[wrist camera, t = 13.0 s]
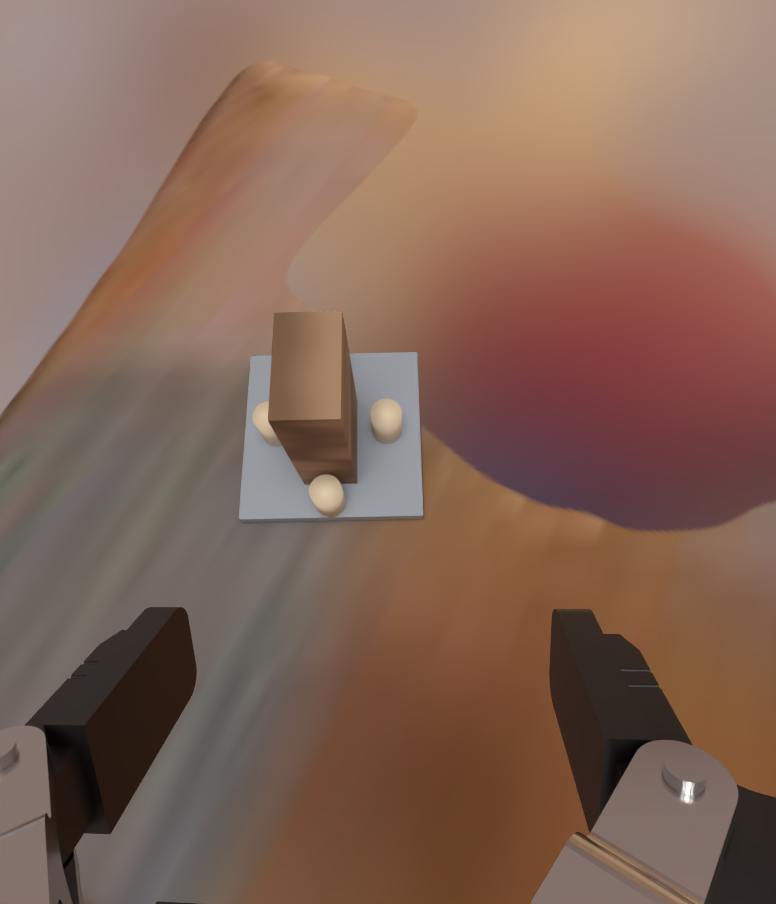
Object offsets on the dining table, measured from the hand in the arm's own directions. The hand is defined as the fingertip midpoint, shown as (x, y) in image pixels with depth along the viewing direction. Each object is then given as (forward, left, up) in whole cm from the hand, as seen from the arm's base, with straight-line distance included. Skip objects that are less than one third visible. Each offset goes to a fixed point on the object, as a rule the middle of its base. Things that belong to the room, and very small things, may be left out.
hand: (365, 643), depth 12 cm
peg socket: (+4, -14, -24) cm, 28 cm away
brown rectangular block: (+4, -13, -23) cm, 27 cm away
